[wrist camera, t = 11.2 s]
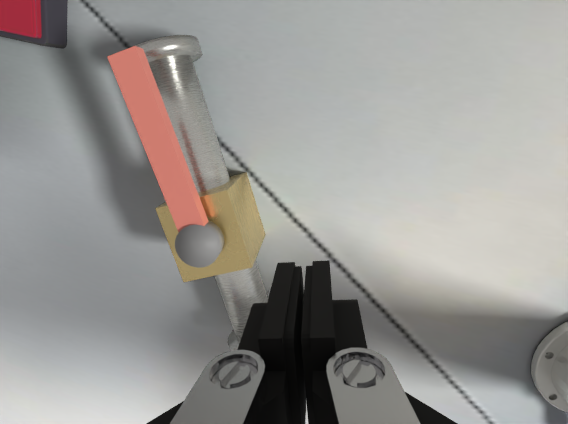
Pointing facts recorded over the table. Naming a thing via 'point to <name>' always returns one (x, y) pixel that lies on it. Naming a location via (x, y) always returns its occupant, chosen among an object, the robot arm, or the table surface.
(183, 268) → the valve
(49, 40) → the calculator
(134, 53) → the lever
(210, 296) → the table surface
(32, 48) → the table surface
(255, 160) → the table surface
